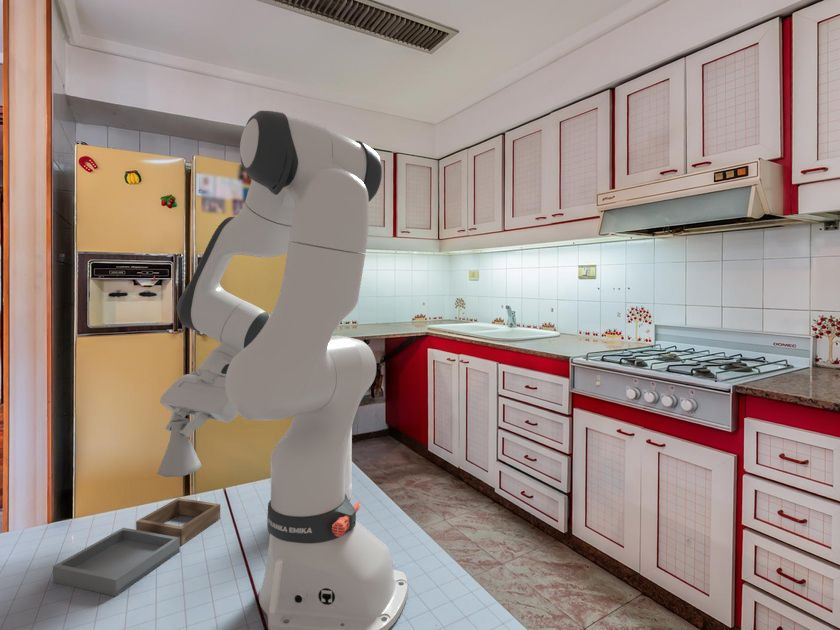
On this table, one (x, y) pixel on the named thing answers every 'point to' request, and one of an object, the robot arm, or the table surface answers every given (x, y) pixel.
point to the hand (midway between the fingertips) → (176, 433)
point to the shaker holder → (198, 509)
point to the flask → (179, 453)
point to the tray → (116, 561)
